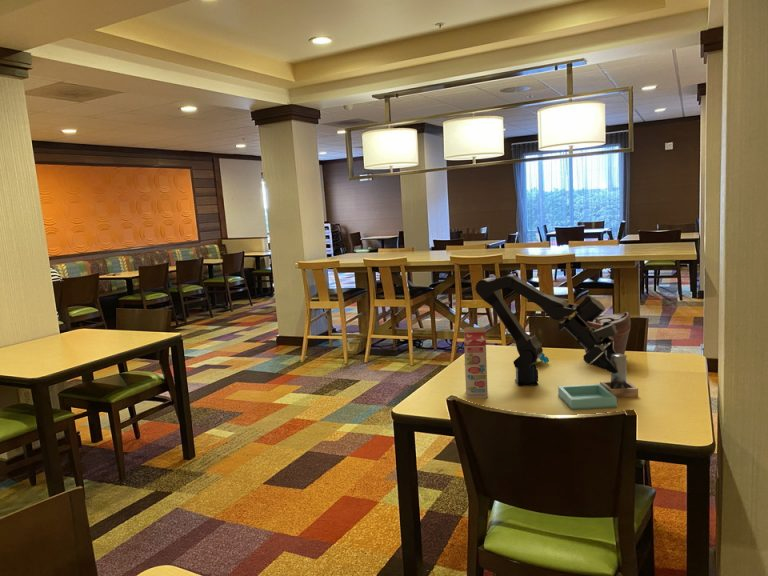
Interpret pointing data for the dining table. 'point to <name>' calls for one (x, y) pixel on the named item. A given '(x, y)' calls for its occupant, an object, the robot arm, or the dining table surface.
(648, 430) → the dining table surface
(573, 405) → the bin
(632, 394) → the collar
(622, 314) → the broken terracotta flower pot
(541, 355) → the gear
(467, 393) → the juice carton
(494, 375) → the dining table surface
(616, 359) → the strut
